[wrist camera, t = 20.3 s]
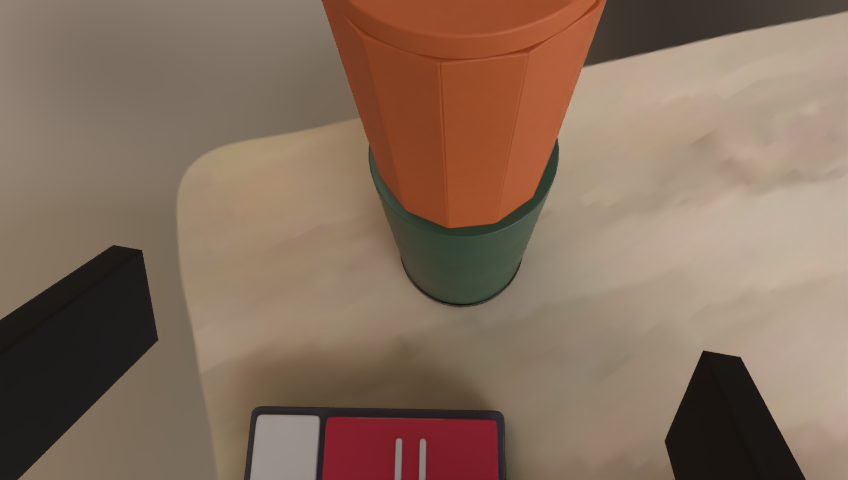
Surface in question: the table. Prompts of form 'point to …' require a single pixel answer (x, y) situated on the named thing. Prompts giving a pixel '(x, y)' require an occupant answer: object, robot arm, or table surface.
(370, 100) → the cap
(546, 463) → the table surface
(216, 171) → the table surface
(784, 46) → the table surface
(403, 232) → the flask
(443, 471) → the red and grey box
